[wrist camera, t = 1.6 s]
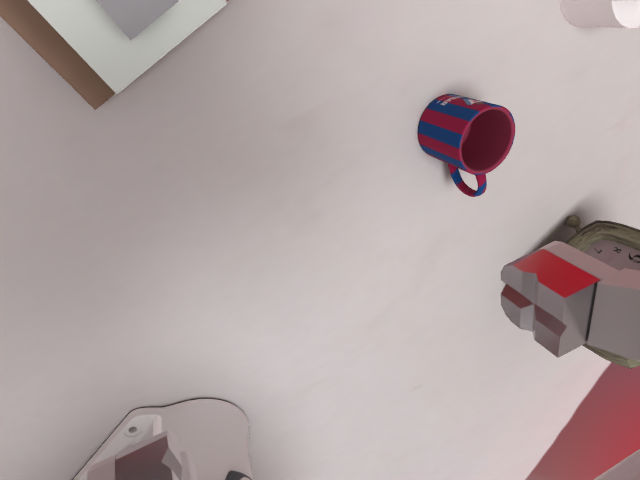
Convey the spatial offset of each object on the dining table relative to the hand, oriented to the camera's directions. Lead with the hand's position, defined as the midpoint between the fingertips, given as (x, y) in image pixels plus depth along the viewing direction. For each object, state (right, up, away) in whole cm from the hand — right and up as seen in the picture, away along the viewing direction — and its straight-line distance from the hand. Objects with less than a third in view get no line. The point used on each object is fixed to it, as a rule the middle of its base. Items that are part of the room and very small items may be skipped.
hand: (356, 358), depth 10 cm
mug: (+13, +14, +39) cm, 43 cm away
